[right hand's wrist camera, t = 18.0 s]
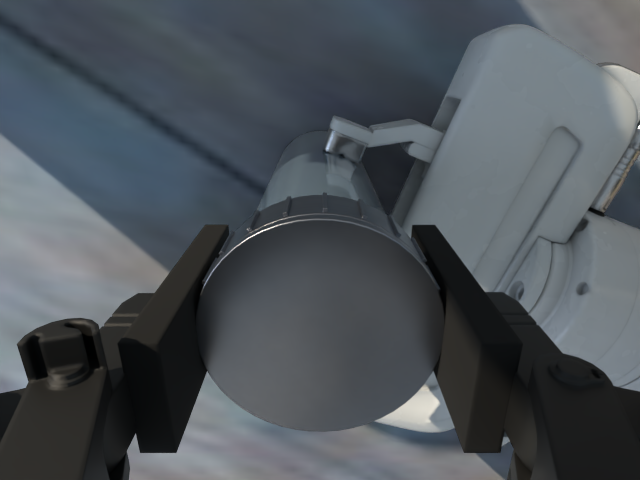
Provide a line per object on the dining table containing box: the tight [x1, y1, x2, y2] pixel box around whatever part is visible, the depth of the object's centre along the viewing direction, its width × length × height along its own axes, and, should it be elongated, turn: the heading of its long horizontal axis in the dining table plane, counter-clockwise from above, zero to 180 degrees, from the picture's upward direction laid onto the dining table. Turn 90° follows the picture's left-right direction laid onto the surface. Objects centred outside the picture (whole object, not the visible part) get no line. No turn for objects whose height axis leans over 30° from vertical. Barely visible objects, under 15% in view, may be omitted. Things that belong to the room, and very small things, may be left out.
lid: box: [195, 192, 445, 432], centre depth 11 cm, size 6×6×2 cm
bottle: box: [257, 131, 385, 214], centre depth 19 cm, size 5×5×17 cm
